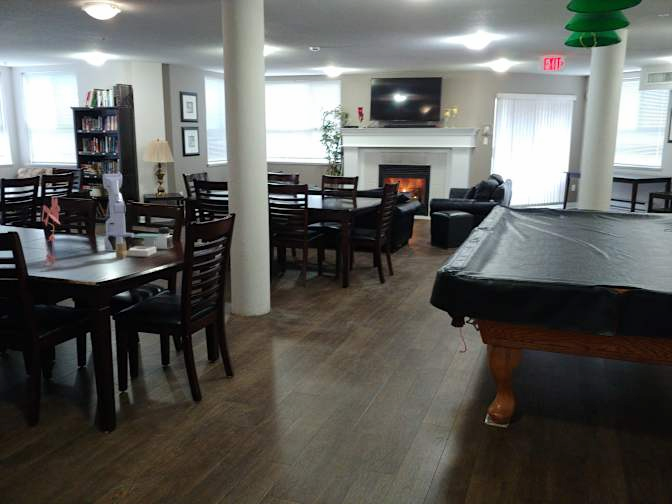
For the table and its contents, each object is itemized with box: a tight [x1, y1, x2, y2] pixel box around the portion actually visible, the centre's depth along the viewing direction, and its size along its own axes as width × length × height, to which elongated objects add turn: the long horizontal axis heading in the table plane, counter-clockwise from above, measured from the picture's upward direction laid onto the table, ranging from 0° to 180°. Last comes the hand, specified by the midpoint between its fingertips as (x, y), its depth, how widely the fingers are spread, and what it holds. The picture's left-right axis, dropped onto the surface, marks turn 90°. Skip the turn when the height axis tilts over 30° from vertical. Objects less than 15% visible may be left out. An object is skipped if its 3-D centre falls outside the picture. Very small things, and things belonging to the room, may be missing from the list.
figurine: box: [41, 196, 74, 271], centre depth 291 cm, size 15×26×35 cm, turn 39°
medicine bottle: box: [155, 227, 174, 250], centre depth 345 cm, size 7×7×12 cm
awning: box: [133, 233, 161, 247], centre depth 335 cm, size 13×7×10 cm, turn 85°
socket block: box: [126, 245, 157, 258], centre depth 326 cm, size 12×12×4 cm
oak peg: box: [115, 242, 128, 260], centre depth 316 cm, size 4×4×8 cm
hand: (121, 249), depth 316 cm, fingers open, 7 cm apart
